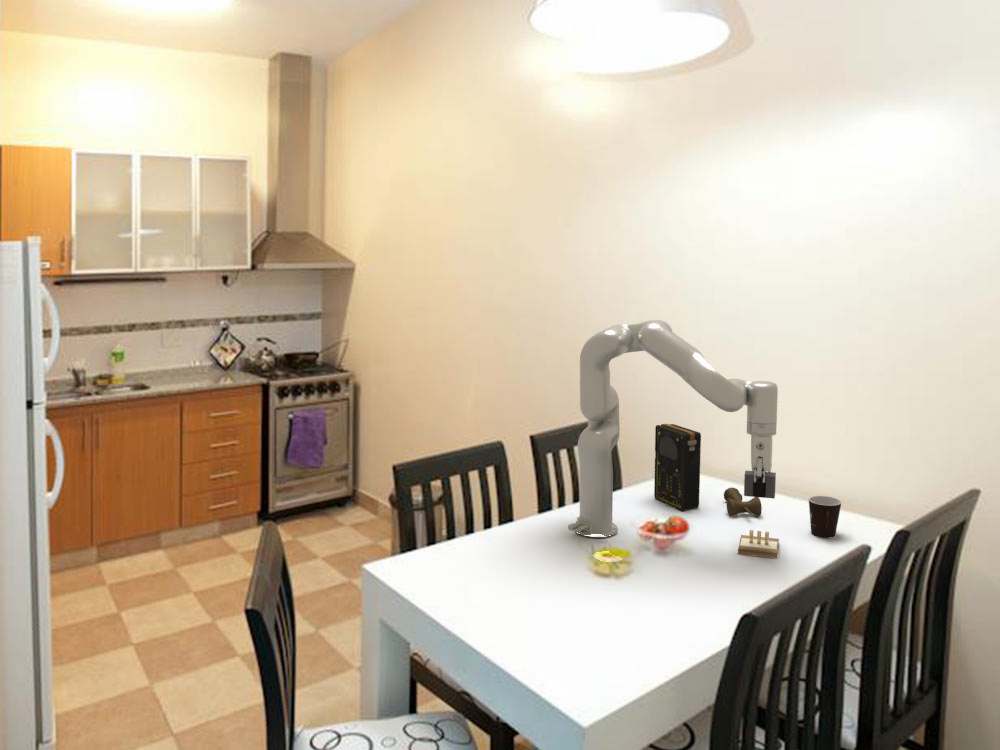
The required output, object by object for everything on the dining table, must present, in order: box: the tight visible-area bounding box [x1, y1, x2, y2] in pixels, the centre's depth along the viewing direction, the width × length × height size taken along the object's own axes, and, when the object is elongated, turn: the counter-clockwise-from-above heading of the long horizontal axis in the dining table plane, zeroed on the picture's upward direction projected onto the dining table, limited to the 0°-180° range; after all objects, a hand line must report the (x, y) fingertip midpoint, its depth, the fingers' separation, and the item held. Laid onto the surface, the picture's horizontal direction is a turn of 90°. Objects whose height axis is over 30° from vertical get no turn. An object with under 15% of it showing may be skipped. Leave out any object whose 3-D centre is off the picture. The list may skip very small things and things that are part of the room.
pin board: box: [737, 529, 780, 559], centre depth 216 cm, size 11×10×5 cm
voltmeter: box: [653, 423, 702, 512], centre depth 253 cm, size 16×9×25 cm, turn 25°
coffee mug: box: [808, 495, 842, 539], centre depth 225 cm, size 12×9×10 cm
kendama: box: [723, 487, 763, 518], centre depth 247 cm, size 6×10×20 cm
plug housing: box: [743, 470, 777, 499], centre depth 214 cm, size 4×8×6 cm, turn 69°
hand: (759, 493), depth 214 cm, fingers closed on plug housing, 4 cm apart
